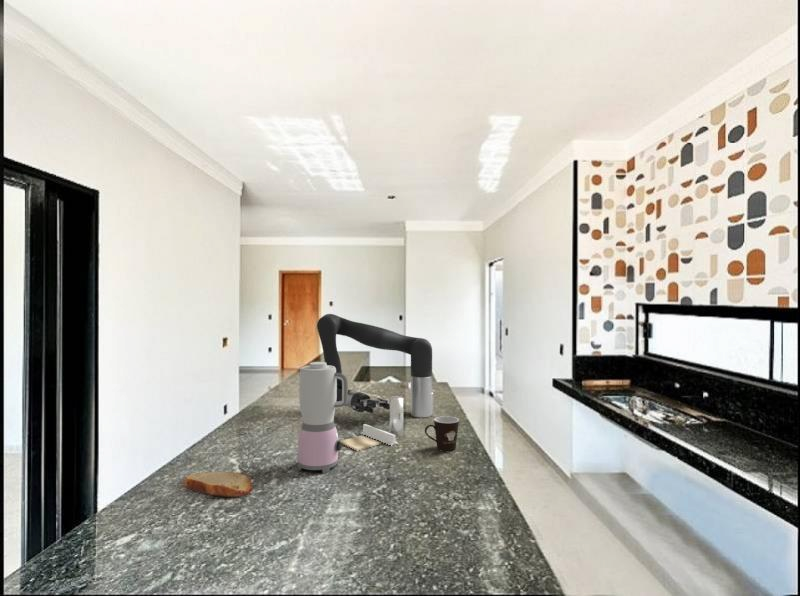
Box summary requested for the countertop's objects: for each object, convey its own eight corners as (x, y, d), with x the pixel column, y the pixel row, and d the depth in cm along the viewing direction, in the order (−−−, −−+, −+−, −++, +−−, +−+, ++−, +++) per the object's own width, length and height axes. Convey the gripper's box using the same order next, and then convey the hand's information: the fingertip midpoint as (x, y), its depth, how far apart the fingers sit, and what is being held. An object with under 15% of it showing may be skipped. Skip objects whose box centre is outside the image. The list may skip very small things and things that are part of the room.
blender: (290, 472, 138) (290, 365, 138) (306, 458, 150) (306, 359, 150) (341, 476, 135) (341, 367, 135) (353, 461, 147) (353, 361, 147)
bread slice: (182, 481, 133) (182, 468, 133) (248, 472, 139) (248, 459, 139) (178, 508, 116) (178, 493, 116) (253, 496, 123) (253, 482, 123)
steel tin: (397, 431, 179) (397, 395, 178) (406, 434, 175) (406, 397, 175) (386, 434, 175) (386, 397, 175) (395, 437, 171) (395, 399, 171)
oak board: (362, 437, 171) (362, 435, 171) (380, 444, 163) (380, 442, 163) (339, 443, 165) (339, 440, 165) (357, 451, 157) (357, 449, 157)
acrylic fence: (367, 432, 177) (367, 423, 177) (397, 444, 164) (397, 434, 164) (360, 434, 175) (360, 424, 175) (391, 446, 162) (391, 436, 162)
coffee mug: (458, 444, 163) (458, 416, 163) (459, 453, 155) (459, 423, 155) (425, 443, 164) (425, 415, 164) (424, 452, 156) (424, 422, 156)
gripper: (343, 394, 190) (366, 401, 177) (371, 389, 199) (395, 396, 186) (343, 412, 190) (366, 421, 177) (371, 407, 199) (395, 415, 186)
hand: (381, 408), depth 182 cm, fingers open, 8 cm apart
